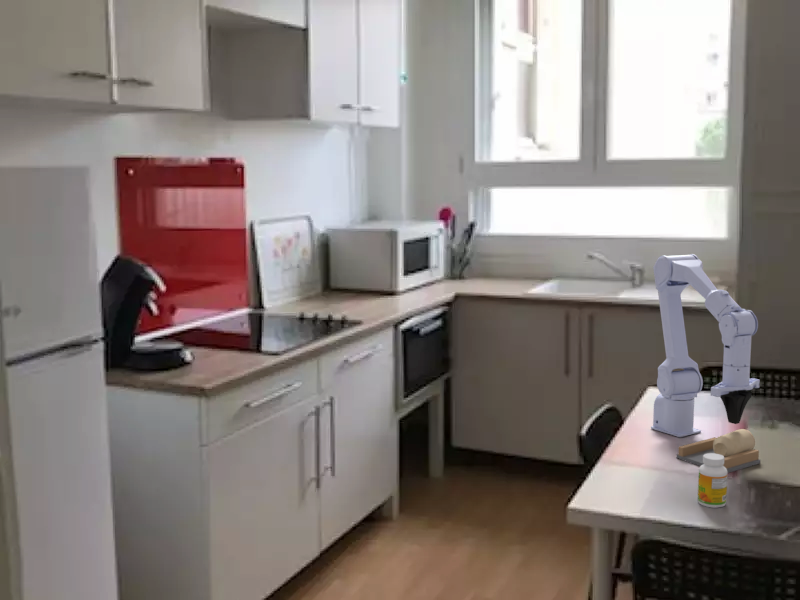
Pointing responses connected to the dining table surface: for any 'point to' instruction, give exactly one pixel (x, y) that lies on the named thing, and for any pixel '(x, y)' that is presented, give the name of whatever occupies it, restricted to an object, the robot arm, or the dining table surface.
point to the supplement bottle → (712, 481)
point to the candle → (734, 443)
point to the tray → (700, 448)
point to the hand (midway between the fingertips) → (733, 422)
